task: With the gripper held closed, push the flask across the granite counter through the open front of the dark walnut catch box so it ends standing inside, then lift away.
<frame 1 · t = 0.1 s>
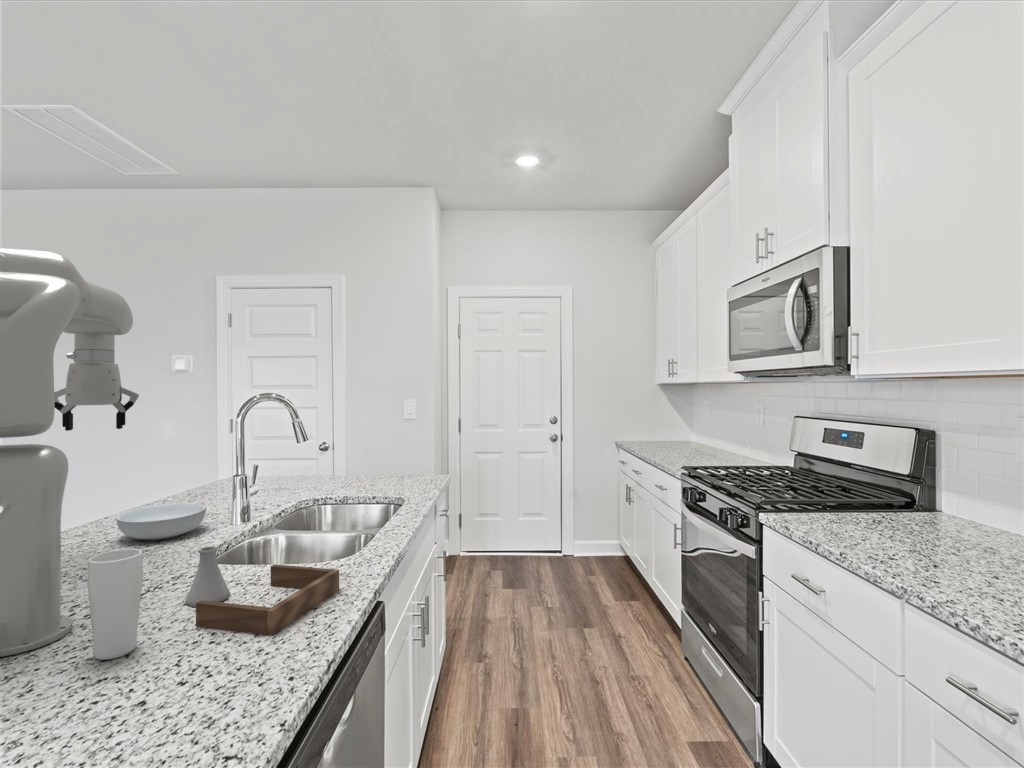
hand: (94, 429, 125), 31 cm above the table, tool pointing down, fingers open, 9 cm apart
white tall hollow cylinder: (115, 654, 80), on the table
flask: (208, 601, 100), on the table
catch box: (271, 606, 97), on the table
serving bowl: (163, 536, 145), on the table
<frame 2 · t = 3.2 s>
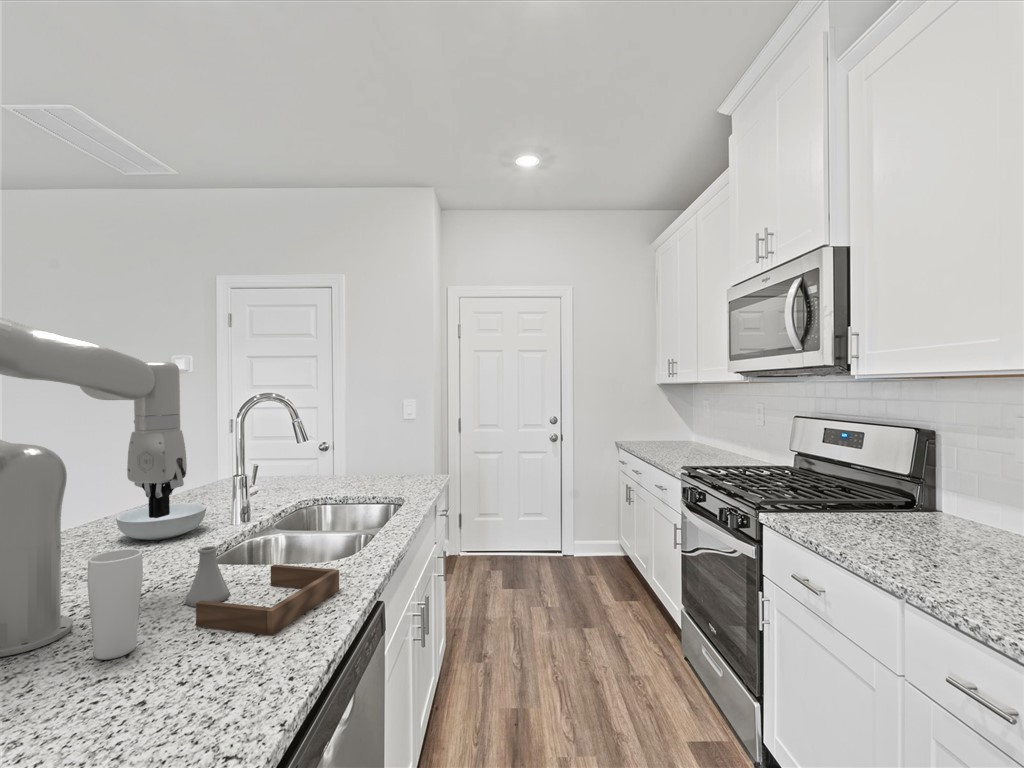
hand: (159, 516, 103), 15 cm above the table, tool pointing down, fingers closed
nothing on the table moved.
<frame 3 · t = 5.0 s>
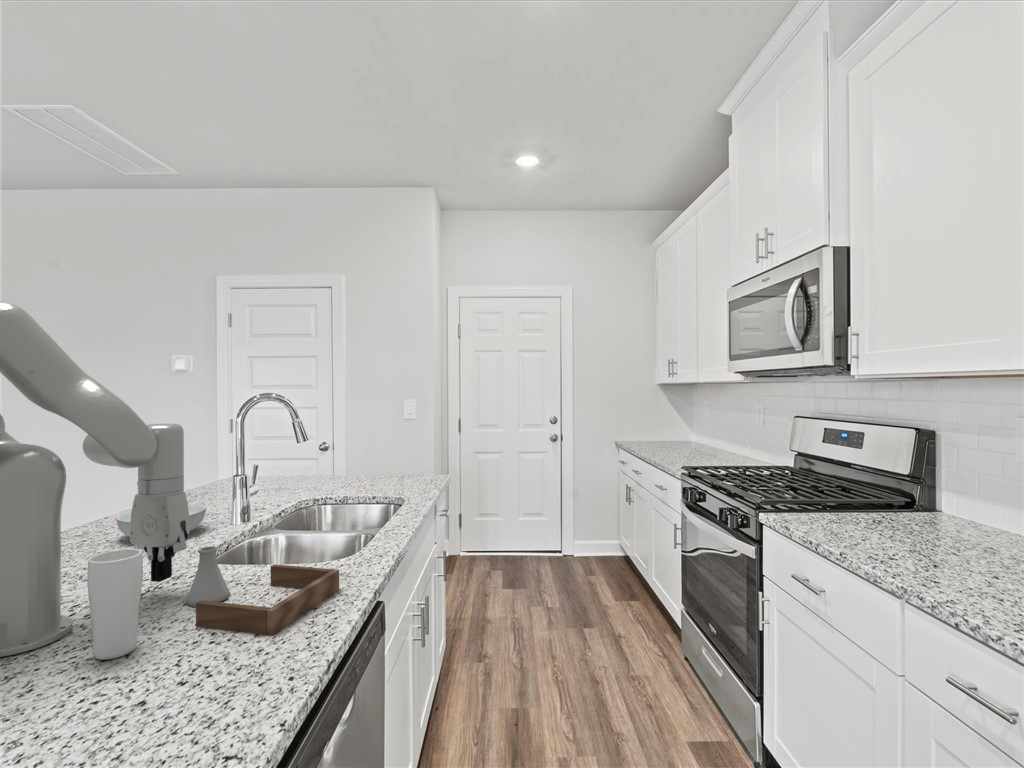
hand: (161, 579, 102), 3 cm above the table, tool pointing down, fingers closed
nothing on the table moved.
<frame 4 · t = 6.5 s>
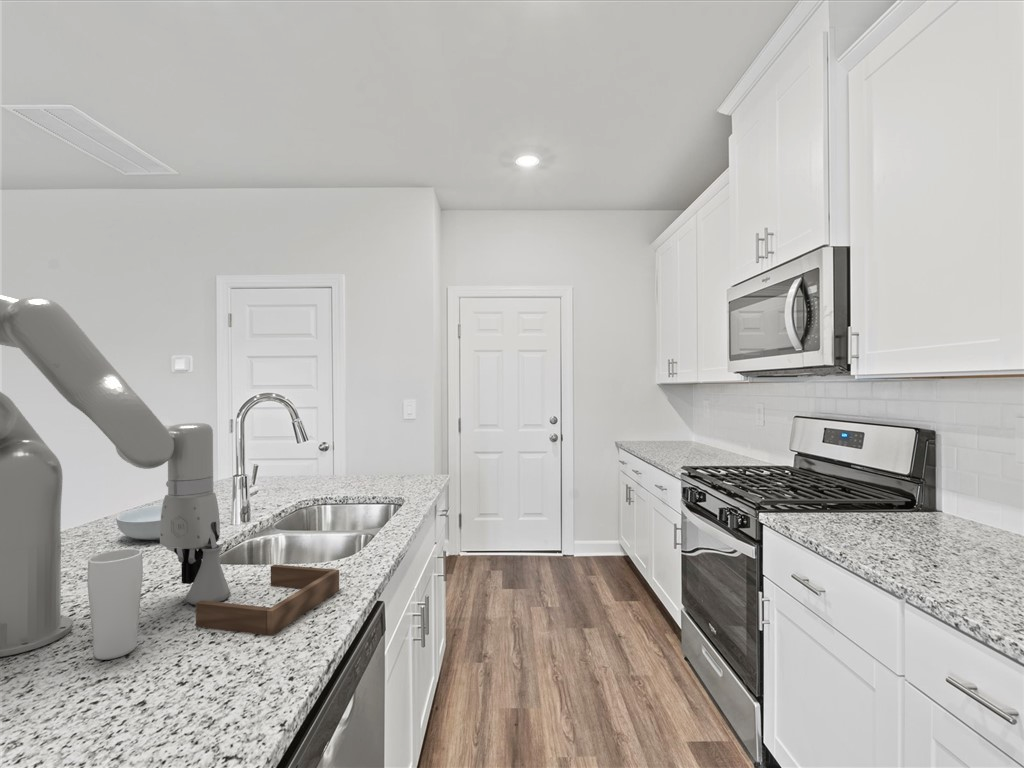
hand: (191, 581, 101), 3 cm above the table, tool pointing down, fingers closed
flask: (208, 599, 100), on the table, touching gripper
everything else where it was.
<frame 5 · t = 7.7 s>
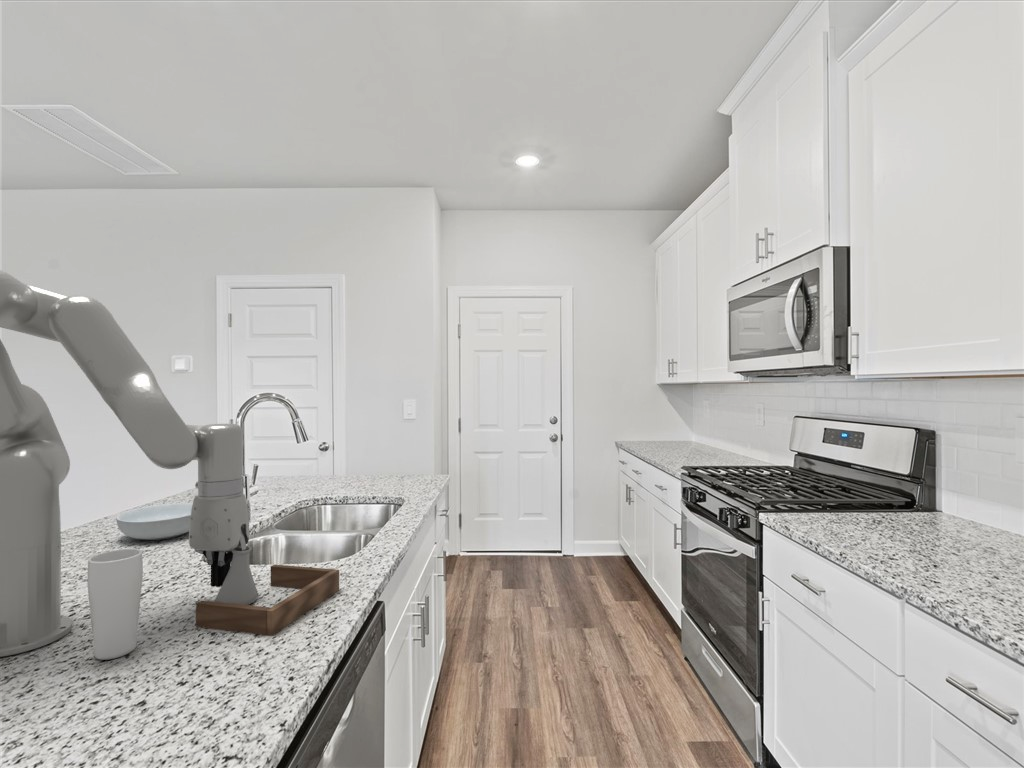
hand: (220, 584, 99), 3 cm above the table, tool pointing down, fingers closed
flask: (236, 601, 98), on the table, touching gripper
everything else where it was.
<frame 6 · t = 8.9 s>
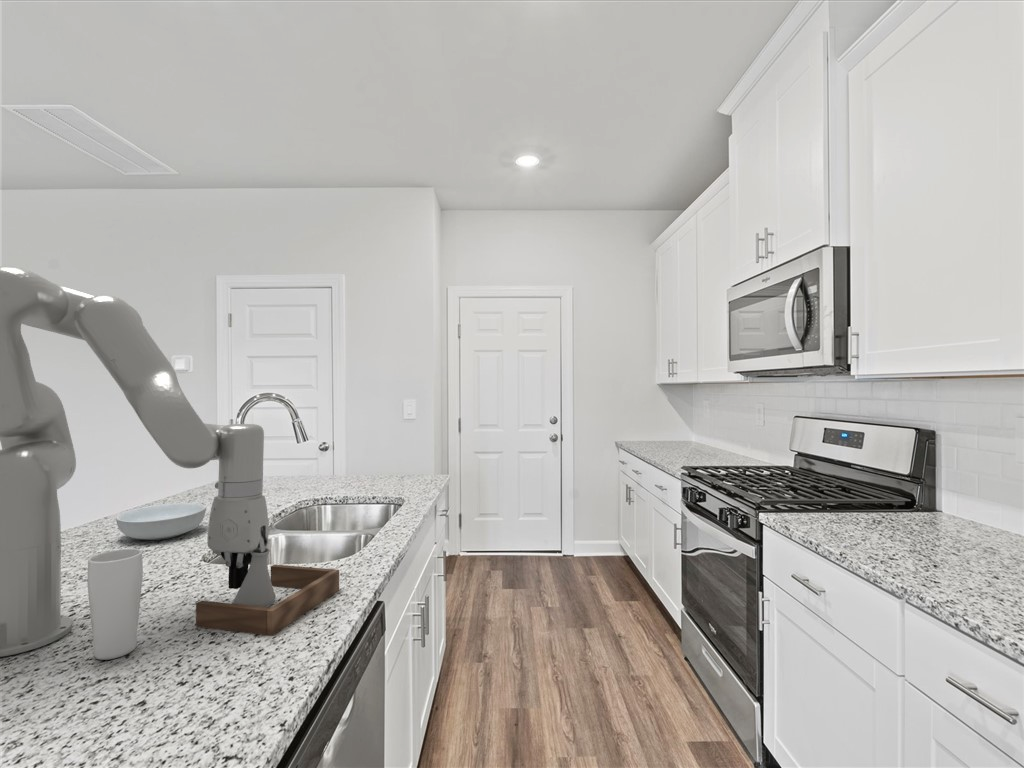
hand: (238, 586, 98), 3 cm above the table, tool pointing down, fingers closed
flask: (253, 603, 98), on the table, touching gripper
everything else where it was.
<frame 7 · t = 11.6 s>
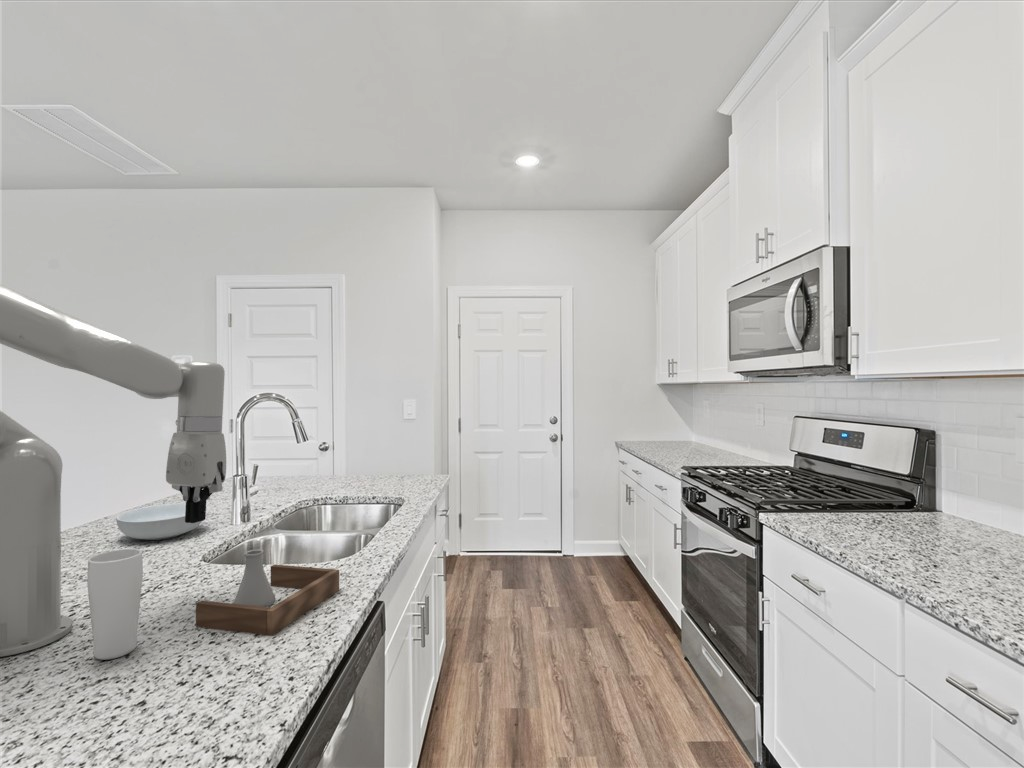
hand: (195, 521, 100), 15 cm above the table, tool pointing down, fingers closed
flask: (253, 606, 97), on the table
everything else where it was.
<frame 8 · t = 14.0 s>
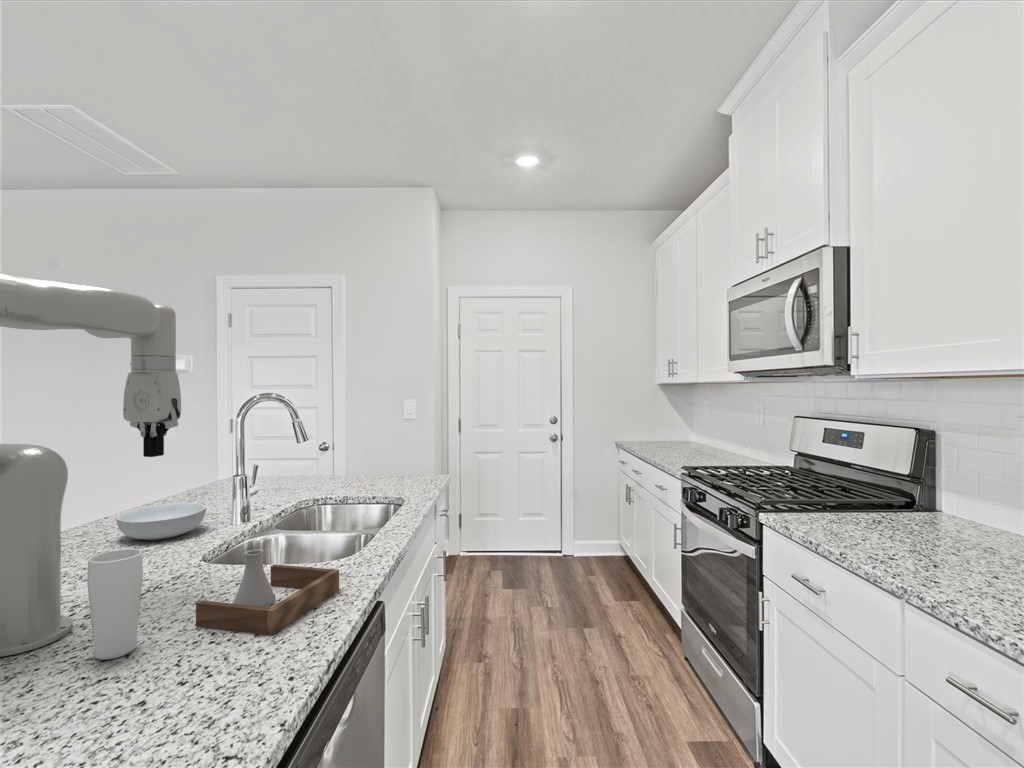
hand: (153, 455, 105), 27 cm above the table, tool pointing down, fingers closed
nothing on the table moved.
at the end: flask inside the target area (4.0 cm from its centre), on the table; flask tilted 0° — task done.
